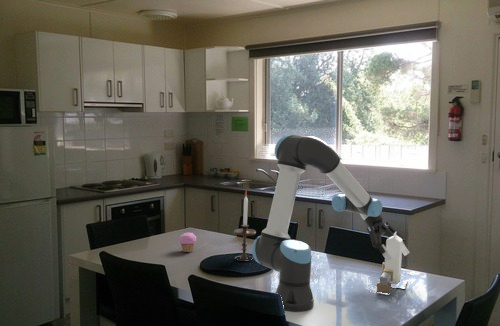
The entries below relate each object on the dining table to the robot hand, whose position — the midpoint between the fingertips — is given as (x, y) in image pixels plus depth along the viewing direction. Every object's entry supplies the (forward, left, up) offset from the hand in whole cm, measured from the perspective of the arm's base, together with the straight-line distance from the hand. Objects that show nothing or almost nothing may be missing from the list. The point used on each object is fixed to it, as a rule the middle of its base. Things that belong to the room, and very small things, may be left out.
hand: (398, 256), depth 211 cm
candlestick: (-41, +60, -13) cm, 74 cm away
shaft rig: (-2, +4, -12) cm, 13 cm away
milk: (-1, +2, -12) cm, 12 cm away
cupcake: (-61, +84, -13) cm, 105 cm away
